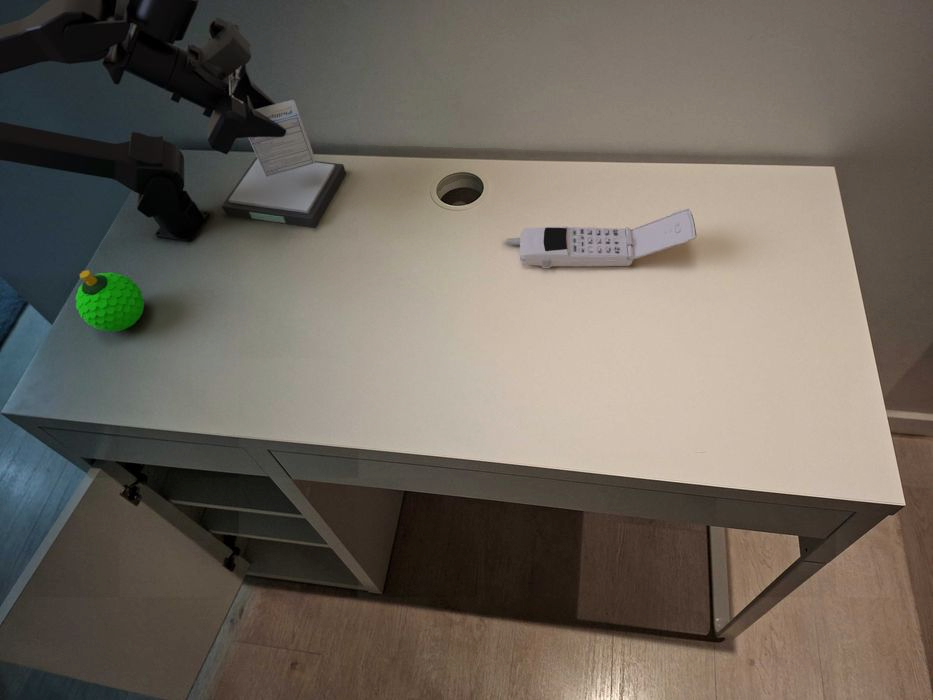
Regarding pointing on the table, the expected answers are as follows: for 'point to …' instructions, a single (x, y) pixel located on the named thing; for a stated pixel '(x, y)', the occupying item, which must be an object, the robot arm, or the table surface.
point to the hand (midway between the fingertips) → (283, 124)
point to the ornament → (109, 301)
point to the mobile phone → (602, 242)
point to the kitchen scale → (285, 194)
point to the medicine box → (283, 141)
